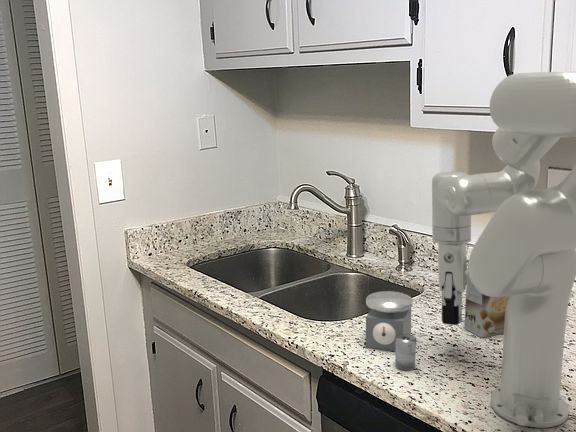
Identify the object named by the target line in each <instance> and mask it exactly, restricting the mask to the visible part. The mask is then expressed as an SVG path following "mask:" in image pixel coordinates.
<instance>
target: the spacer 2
mask: <svg viewBox="0 0 576 432" xmlns="http://www.w3.org/2000/svg"><path fill="white" fill-rule="evenodd" d="M462 294H463V292H462V293H461V292H460V291H458V299H457V305H459V324H461V323H462V322H463V321H462V320H463V299H462V298H463V295H462ZM452 296H454V294H452ZM442 305H443V291H441V306H442Z"/></svg>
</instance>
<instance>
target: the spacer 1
mask: <svg viewBox="0 0 576 432" xmlns="http://www.w3.org/2000/svg"><path fill="white" fill-rule="evenodd" d="M416 348H417V338H416V337H415V336H414V335H411V334H410V335H407V334H402V335H398V336H396V345H395V351H394V352H395V353H394V354H395V356H394V366H395V368H396V369H397V370H399V371H403V372H411V371H413V370H414V369H416V360H417V359H416V352H417V349H416Z"/></svg>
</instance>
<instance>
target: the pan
mask: <svg viewBox="0 0 576 432" xmlns="http://www.w3.org/2000/svg"><path fill="white" fill-rule="evenodd" d="M413 302H414V301H413V298H412V297H411V296H410V295H408V294H407V293H403V292H400V291H393V290H388V291H385V290H384V291H376V292H373V293H370V294H368V295H367V296H366V298H365V304H366V306H367V307H368V308H369V309H370V310H371V309H373V310H376V311H380V312H387V313H396V312H403V311H406V310H409V309H410V308H411V309H412V307H413V305H414V303H413Z"/></svg>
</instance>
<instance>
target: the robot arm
mask: <svg viewBox="0 0 576 432" xmlns="http://www.w3.org/2000/svg"><path fill="white" fill-rule="evenodd" d="M489 115H490V118H491V120H492V121H493V123H494V124H495V125H496V126H497V129H496V131H495V132H494V133H493V136H492V139H491V140H492V141H491V143H492V144H491V145H492V148H493V151H494V152H495V155H496V156H497V157H498V158H499V159H500V161H502V162H503V163H504V164H506V165H505V166H504V168H503V169H502V170H501V171H498V172H496V171H495V172H485V173H476V174H468V173H466V172H461V171H444V172H438V173H435V175H434V176H432V180H431V203H432V205H431V212H432V215H431V216H432V217H431V219H432V229H431V230H432V239H431V240H432V242H433V243H437V247H438V248H437V250H438V251H437V255H438V256H437V269H438V273H437V274H438V276H437V277H438V288H439V291H441V292H443V305H442V304H441V322H442V324H444V325H453V326H454V325H455V326H458V325H459V324H460V323H459V305H457V299H458V291H460V292H461V293H462V294H463V293H464V292H466V287H467V269H468V272H469V277H470V280H471V282H472V284H473V286H474V287H475V288H476V289H477V290H478V291H479V292H480V293H482V294H484V295H486V296H489V297H506V296H510V298H509V300H508V303H507V306H506V311H505V321H504V333H503V340H502V359H501V374H500V375H501V377H500V387H498V388H496V389H495V390H493V391H492V393H491V394H490V405H491V408H492V409H493V411H494V412H496V414H497V415H499V416H500V417H502V419H504V420H507V421H509V422H512V423H514V424H517V425H519V426H521V427H531V428H537V429H543V428H551V427H553V428H554V427H557V426H559V425H562V424H563V423H565V422H566V421H567V419H568V418H569V410H570V409H569V406H568V404H567V402H566V401H565V399H564V398H562V397H561V385H562V384H561V383H562V374H563V360H564V351H565V350H564V348H565V337H566V336H565V335H566V329H567V328H566V327H567V316H568V307H569V303H570V297H571V295H572V289H573V287H574V284H575V280H576V163H575V164H574V166H572V169H571V171H570V172H568V173H567V175H566V177H565V178H564V179H563V180H562V181H561V182H560V183H559V184H557V185H555V186H551V187H549V188H542V189H535V188H536V186H537V184H538V182H539V177H540V172H541V163H540V160H541V159H542V158H543V157H544V156H545V155H546V154H547V153H548V151H549V150H551V148H552V147H553V146H554V145H555V144H556V143H557V142H558V141H559V140H560V138H576V71H563V72H562V71H561V72H560V71H543V72H542V71H541V72H520V73H519V72H518V73H513V74H510V75H508V76H507V77H504V78H503V79H502V80H500V81H499V83H498V84H497V85H496V86H495V88H494V90H493V92H492V94H491V96H490V100H489ZM490 213H494V214H493V215H492V216H491V218H490V220H489V222H488V223H487V225H486V226H485V227H484V229H483V231H482V232H481V234H480V235H479V237H478V238H477V240H476V241H475V243H474V245H473V247H472V249H471V252H470V254H469V257H468V259H467V253H468V252H467V244H468V243H470V242H472V225H471V224H472V216H475V215H476V216H477V215H482V214H490ZM467 260H468V261H469V263H468V261H467ZM452 294H454V296H452Z"/></svg>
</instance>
